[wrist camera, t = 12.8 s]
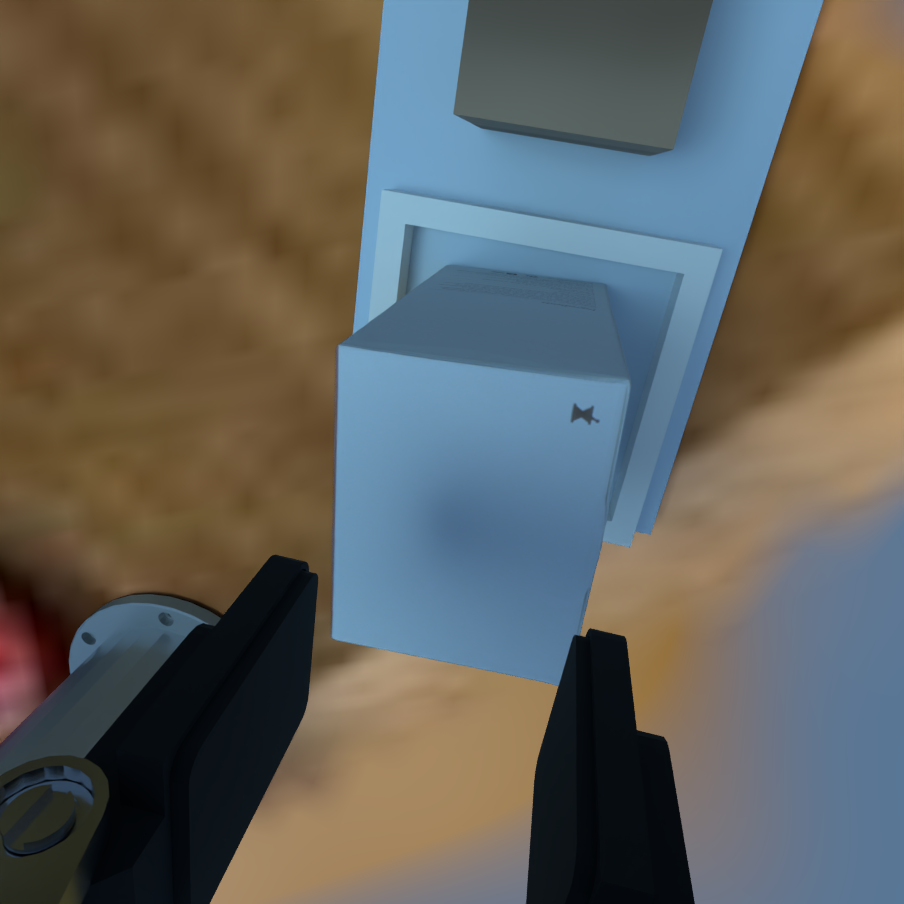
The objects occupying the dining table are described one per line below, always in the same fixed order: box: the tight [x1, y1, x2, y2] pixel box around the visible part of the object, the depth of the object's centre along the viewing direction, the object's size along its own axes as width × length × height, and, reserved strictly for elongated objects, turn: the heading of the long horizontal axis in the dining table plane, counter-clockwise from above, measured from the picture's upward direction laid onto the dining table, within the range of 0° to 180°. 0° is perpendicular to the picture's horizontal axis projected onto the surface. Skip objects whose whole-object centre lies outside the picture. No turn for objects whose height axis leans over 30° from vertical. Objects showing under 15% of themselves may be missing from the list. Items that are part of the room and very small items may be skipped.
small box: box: [331, 265, 631, 686], centre depth 21 cm, size 8×6×13 cm
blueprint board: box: [353, 0, 823, 547], centre depth 25 cm, size 22×14×3 cm, turn 172°
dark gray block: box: [453, 0, 713, 156], centre depth 19 cm, size 6×6×6 cm
